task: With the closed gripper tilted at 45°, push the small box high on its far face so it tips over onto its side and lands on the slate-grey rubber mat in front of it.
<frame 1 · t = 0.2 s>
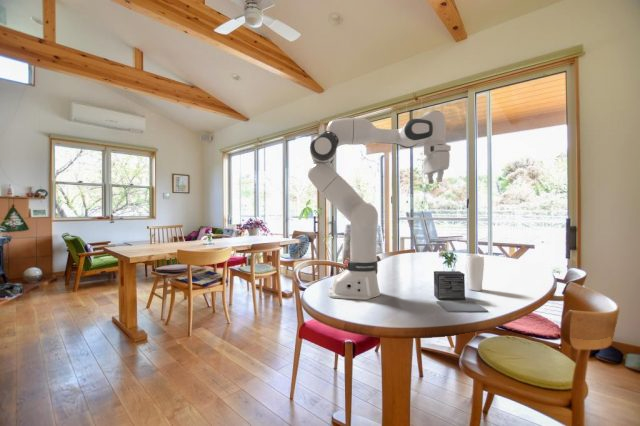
hand: (435, 182, 129), 47 cm above the table, tool pointing down, fingers open, 8 cm apart
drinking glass: (475, 290, 135), on the table
small box: (449, 298, 123), on the table
mat: (461, 306, 112), on the table
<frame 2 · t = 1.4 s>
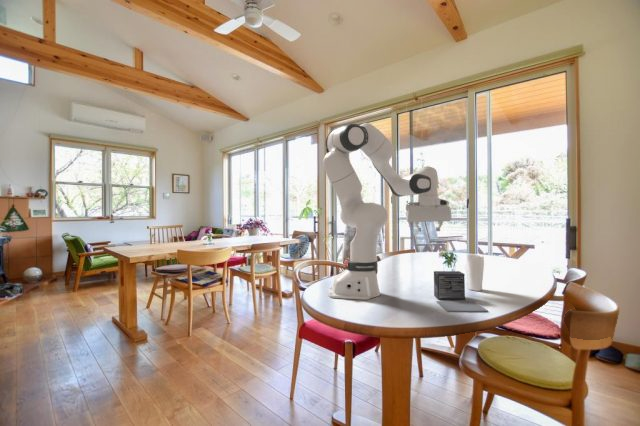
hand: (428, 231, 143), 25 cm above the table, tool pointing down, fingers open, 7 cm apart
nothing on the table moved.
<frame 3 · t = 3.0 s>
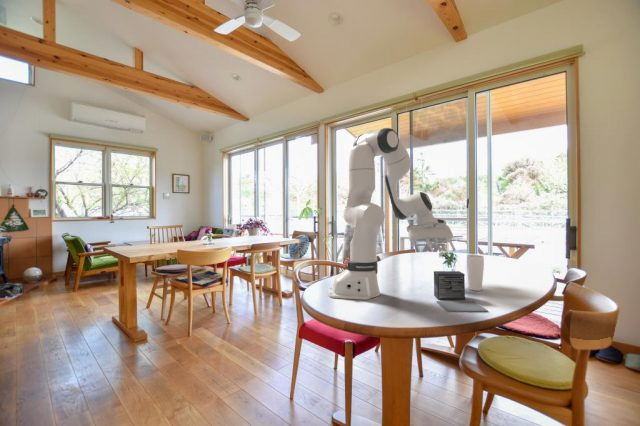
hand: (433, 247, 142), 18 cm above the table, tool tilted 45°, fingers closed
nothing on the table moved.
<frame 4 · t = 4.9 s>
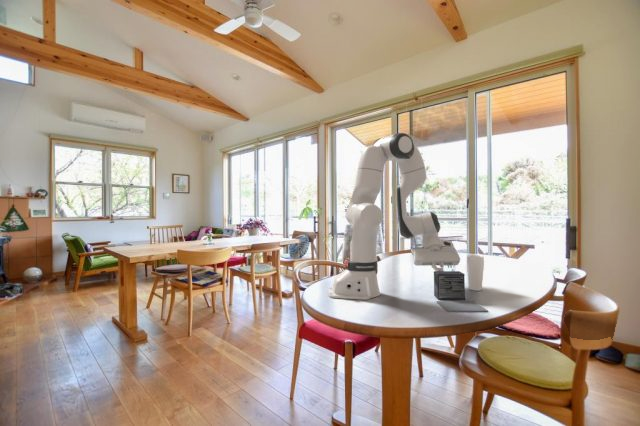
hand: (440, 272, 134), 8 cm above the table, tool tilted 45°, fingers closed
nothing on the table moved.
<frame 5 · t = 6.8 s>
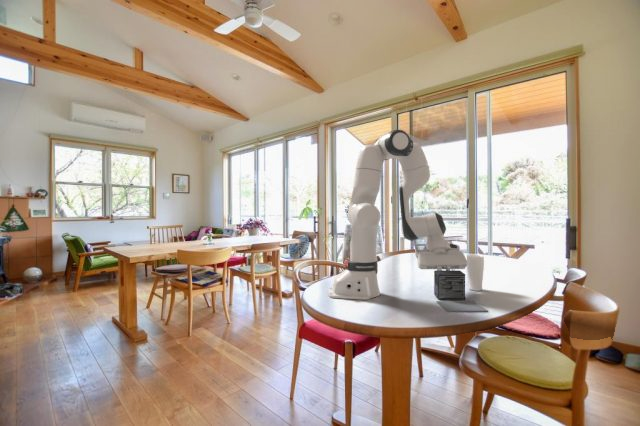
hand: (446, 276, 126), 8 cm above the table, tool tilted 45°, fingers closed, pressing on small box
small box: (449, 297, 123), on the table, touching gripper
everything else where it was.
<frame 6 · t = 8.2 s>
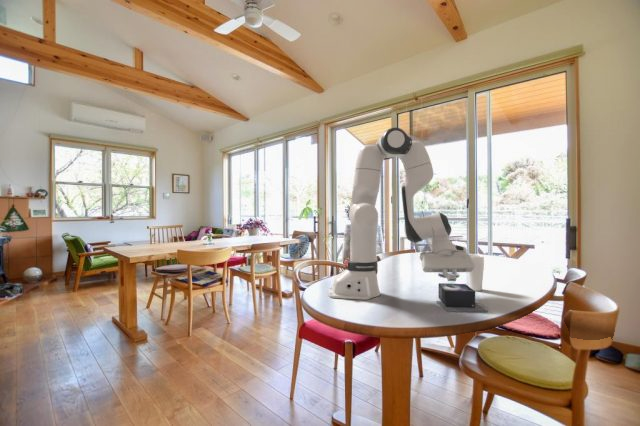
hand: (452, 280, 120), 8 cm above the table, tool tilted 45°, fingers closed
small box: (452, 290, 120), point 4 cm above the table, touching mat
everything else where it was.
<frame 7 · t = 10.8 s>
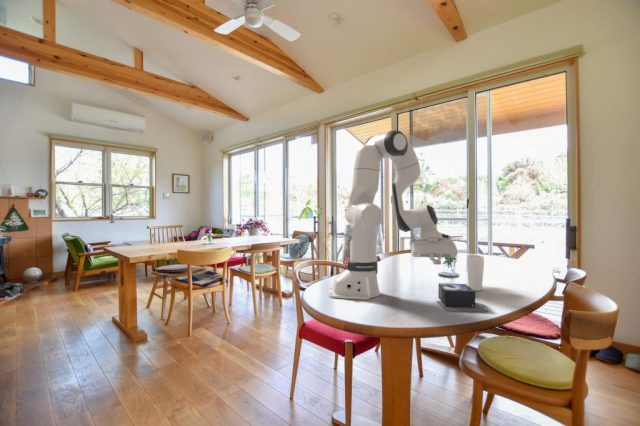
hand: (437, 263, 136), 11 cm above the table, tool tilted 45°, fingers closed
nothing on the table moved.
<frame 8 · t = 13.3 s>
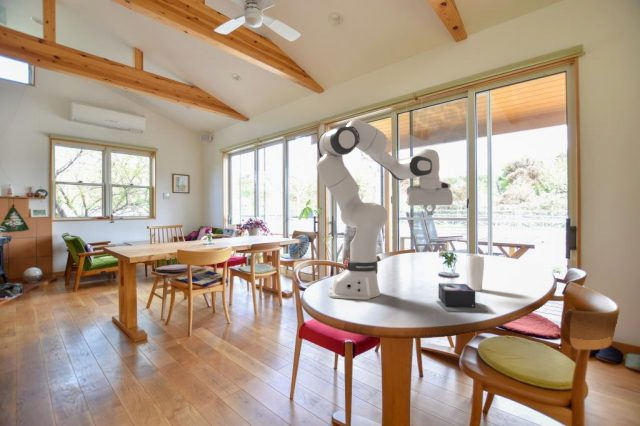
hand: (429, 215, 141), 33 cm above the table, tool pointing down, fingers closed
nothing on the table moved.
at the end: small box tilted 91°; small box inside the target area (3.0 cm from its centre), point 3.7 cm above the table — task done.
